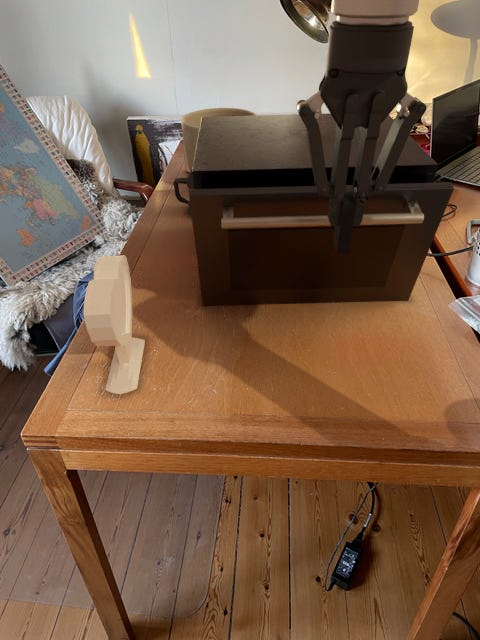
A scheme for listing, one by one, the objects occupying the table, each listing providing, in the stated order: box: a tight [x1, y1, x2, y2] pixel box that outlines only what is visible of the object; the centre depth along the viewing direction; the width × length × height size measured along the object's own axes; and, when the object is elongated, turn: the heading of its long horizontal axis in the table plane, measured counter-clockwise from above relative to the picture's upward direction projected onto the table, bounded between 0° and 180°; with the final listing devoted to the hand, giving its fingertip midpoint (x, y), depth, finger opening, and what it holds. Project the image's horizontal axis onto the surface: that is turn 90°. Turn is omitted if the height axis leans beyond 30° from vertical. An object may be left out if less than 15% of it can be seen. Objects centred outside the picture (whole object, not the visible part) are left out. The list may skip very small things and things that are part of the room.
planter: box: [180, 107, 258, 171], centre depth 130 cm, size 21×21×19 cm
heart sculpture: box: [83, 254, 146, 395], centre depth 71 cm, size 16×5×18 cm, turn 3°
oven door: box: [188, 181, 455, 307], centre depth 78 cm, size 5×40×26 cm, turn 91°
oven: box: [192, 112, 439, 189], centre depth 95 cm, size 32×40×26 cm
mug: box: [173, 169, 193, 217], centre depth 119 cm, size 12×9×11 cm
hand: (340, 247), depth 56 cm, fingers closed
